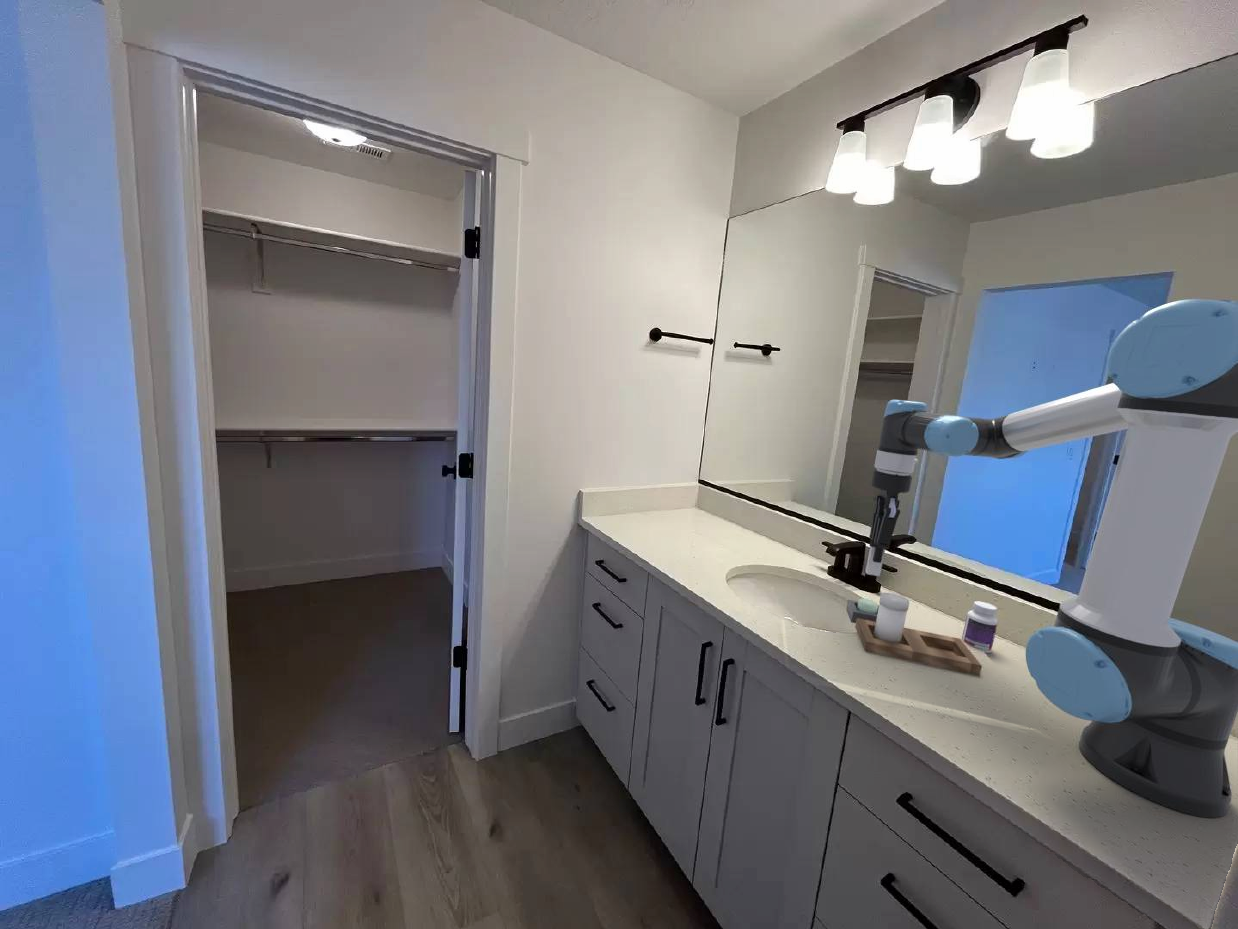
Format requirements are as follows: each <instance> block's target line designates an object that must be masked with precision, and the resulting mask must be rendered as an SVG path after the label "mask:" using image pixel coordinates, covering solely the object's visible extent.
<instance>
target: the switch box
mask: <svg viewBox="0 0 1238 929" xmlns="http://www.w3.org/2000/svg"><path fill="white" fill-rule="evenodd" d="M858 601H859V600H853V599H847V604H846V609H845V610H846V613H847V615H848V618H849V620H850V622H851V623H852V624H856V620H857V618H859V619H864V620H869V621H874V622H876V619H877V614H878V609H879V604H878V608H877V613H876V614H872V613H867V612H862V611H858V610H857V606H858Z"/></svg>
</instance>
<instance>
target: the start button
mask: <svg viewBox="0 0 1238 929" xmlns="http://www.w3.org/2000/svg"><path fill="white" fill-rule="evenodd" d="M857 601H858V606H857V610H858V611H862V612H867V613H872V614H876V613H877V608H878V605H879V604H878V603H877V602H876V601H874V600H871V599H868V598H859V599H858V600H857Z"/></svg>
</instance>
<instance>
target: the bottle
mask: <svg viewBox="0 0 1238 929" xmlns="http://www.w3.org/2000/svg"><path fill="white" fill-rule="evenodd" d="M878 605H879V609H878V614H877V619H876V625H875V630H874V635H873V638H874V639H879V640H884V641H889V642H894V643H899V644H901V639H902V634H903V629H904V628H905V624H906V619H907V612H908V610H909V606H910V600H909V599H908V598H906V597H905V596H902V595H900V594H897V593H893V592H882V593H880V596H879V604H878Z"/></svg>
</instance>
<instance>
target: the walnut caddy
mask: <svg viewBox="0 0 1238 929" xmlns="http://www.w3.org/2000/svg"><path fill="white" fill-rule="evenodd" d="M875 625H876V622H874V621H869V620H864V619H859V618H857V620H856V623H855V630H856V632H857V634H858V638H859V640H860V641H861V646H862V647H863V650H864V652H868V653H872V654H877V655H881V656H887V657H891V658H895V659H900V660H903V661H904V660H905V661H909V662H912V663H913V662H914V663H919V664H923V665H929V666H934V667H937V668H942V669H945V670H952V671H956V672H962V673H966V674H970V675H974V676H981V672H982V667H983V664H981V663H980V661H979V660H978V659H977V658H976V657H975V655H974V654H973V653H972V652H971V650H970V649H969V648H968V646H967V644H966V643H965V642H964V641H963V640H962V638H958V637H955V636H949V635H943V634H938V633H933V632H928V631H923V630H918V629H915V628H908V627H904V629H903V634H902V639H901V644H899V643H894V642H889V641H884V640H879V639H874V638H873V635H874V630H875Z"/></svg>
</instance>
